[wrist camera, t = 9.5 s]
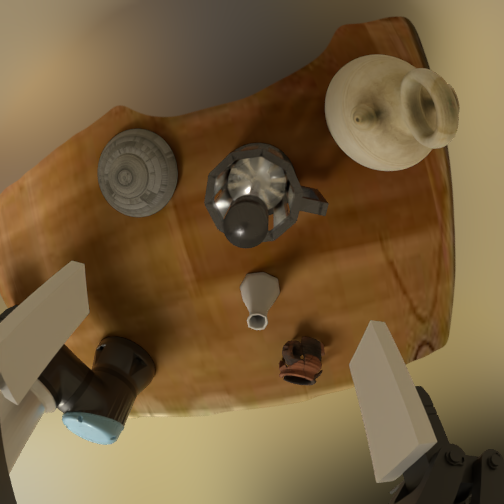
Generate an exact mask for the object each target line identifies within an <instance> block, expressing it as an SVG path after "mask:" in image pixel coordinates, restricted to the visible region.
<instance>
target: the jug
mask: <svg viewBox="0 0 504 504" xmlns="http://www.w3.org/2000/svg"><path fill="white" fill-rule="evenodd" d="M458 114H459V102H458V98H457V95H456V93H455V91H454V89H453V88H452V86H450V85H449V84H447V83H446V82H445V80H444V79H443V78H442V77H440V76H439V75H438V74H437V73H435V72H433V71H431V70H429V69H425V68H417V69H416V68H415V67H414V66H412V65H411V64H409V63H407V62H405V61H403V60H401V59H399V58H396V57H392V56H388V55H379V54H375V55H367V56H363V57H359V58H357V59H355V60H352V61H351V62H349V63H347V64H346V65H345V66H343V67H342V68H341V69H340V70H339V71H338V72H337V73H336V74H335V76H334V77H333V79H332V80H331V82H330V84H329V87H328V90H327V93H326V98H325V117H326V122H327V126H328V128H329V131H330V133H331V135H332V137H333V138H334V140H335V141H336V143H337V144H338V146H339V147H340V148H341V149H342V150H343V151H344V152H345V153H346V154H347V155H348V156H349V157H350V158H352V159H353V160H355V161H356V162H358V163H359V164H361V165H363V166H366V167H368V168H371V169H375V170H382V171H396V170H402V169H406V168H408V167H411V166H413V165H415V164H417V163H418V162H420V161H421V160H422V159H424V158H425V157H426V156H427V155H428V154H429V153H430V151H431V150H432V149H433V148H441V147H444V146H446V145H447V144H449V143H450V142H451V141H452V139H453V138H454V136H455V134H456V131H457V128H458V120H459V119H458V118H459V117H458Z"/></svg>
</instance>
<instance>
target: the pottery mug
mask: <svg viewBox="0 0 504 504" xmlns="http://www.w3.org/2000/svg"><path fill="white" fill-rule="evenodd" d="M324 354H325V352H324V345H323V344H322V343H321V342H320V341H318V340H316V339H313V338H310V337H302V341H301V343H300V342H299V341H296V340H295V341H288V342H287V343H286V344H285V345H284V346H283V350H282V355H283V357H284V359H285V363H286V364H287V365H289V366H288V367H287V365H285V363H284V362H283V361H280V363H279V370H280V371H281V373H280V374H279V376H280V377H282V378H283V377H284V380H285V381H287V382H290V383H294V384H299V385H313V384H315V383H316V381H315V379H316V378H318V377H319V376H320V374H321V373H322V370H321V371H320V372H319V370H320V369H321V366H322V364H321V362H320V361H321V355H322V356H324ZM301 355H303V356H304V360H303V359H300V356H301ZM317 372H319V373H317Z"/></svg>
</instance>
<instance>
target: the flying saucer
mask: <svg viewBox="0 0 504 504" xmlns="http://www.w3.org/2000/svg"><path fill="white" fill-rule="evenodd" d="M177 177H178V170H177V163H176V159H175V156H174V154H173V152H172V150H171V148H170V147H169V145H168V144H167V143H166V141H165V140H164V139H163V138H161V137H160V136H159V135H157V134H156V133H154V132H151V131H149V130H145V129H130V130H126V131H123V132H121V133H119V134H118V135H116V136H115V137H113V138H112V139H111V140H110V141H109V142H108V144H107V145H106V146H105V148H104V150H103V152H102V154H101V156H100V160H99V164H98V182H99V186H100V189H101V191H102V194H103V195H104V197H105V199H106V200H107V201H108V203H109V204H110V205H111V206H112V207H113V208H115V209H116V210H117V211H119V212H121V213H123V214H125V215H128V216H132V217H145V216H149V215H152V214H154V213H156V212H158V211H159V210H161V209H162V208H163V207H164V206H165V205H166V204H167V203H168V202H169V200H170V199H171V197H172V195H173V193H174V191H175V188H176V184H177Z"/></svg>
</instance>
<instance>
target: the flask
mask: <svg viewBox="0 0 504 504" xmlns="http://www.w3.org/2000/svg"><path fill="white" fill-rule="evenodd" d="M240 290H241V294H242V298H243V301H244V303H245V305H246V306H247V308H248V310H249V312H250V315H249V317H248V319H247V323H248V327H250V328H252V329H254V330H261V329H265V327H266V326H267V324H268V320H267V313H268V310H269V309H270V307H271V306H272V305H273V303H274V301H275V300H276V298H277V297H278V295H279V294H280V289H279V283H278V279H277V278H275V277H273V276H271V275H269V274H267V273H265V272H259V273H251V274H247V275H246V277H245V278H244V280H243V282H242V284H241V285H240Z"/></svg>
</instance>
